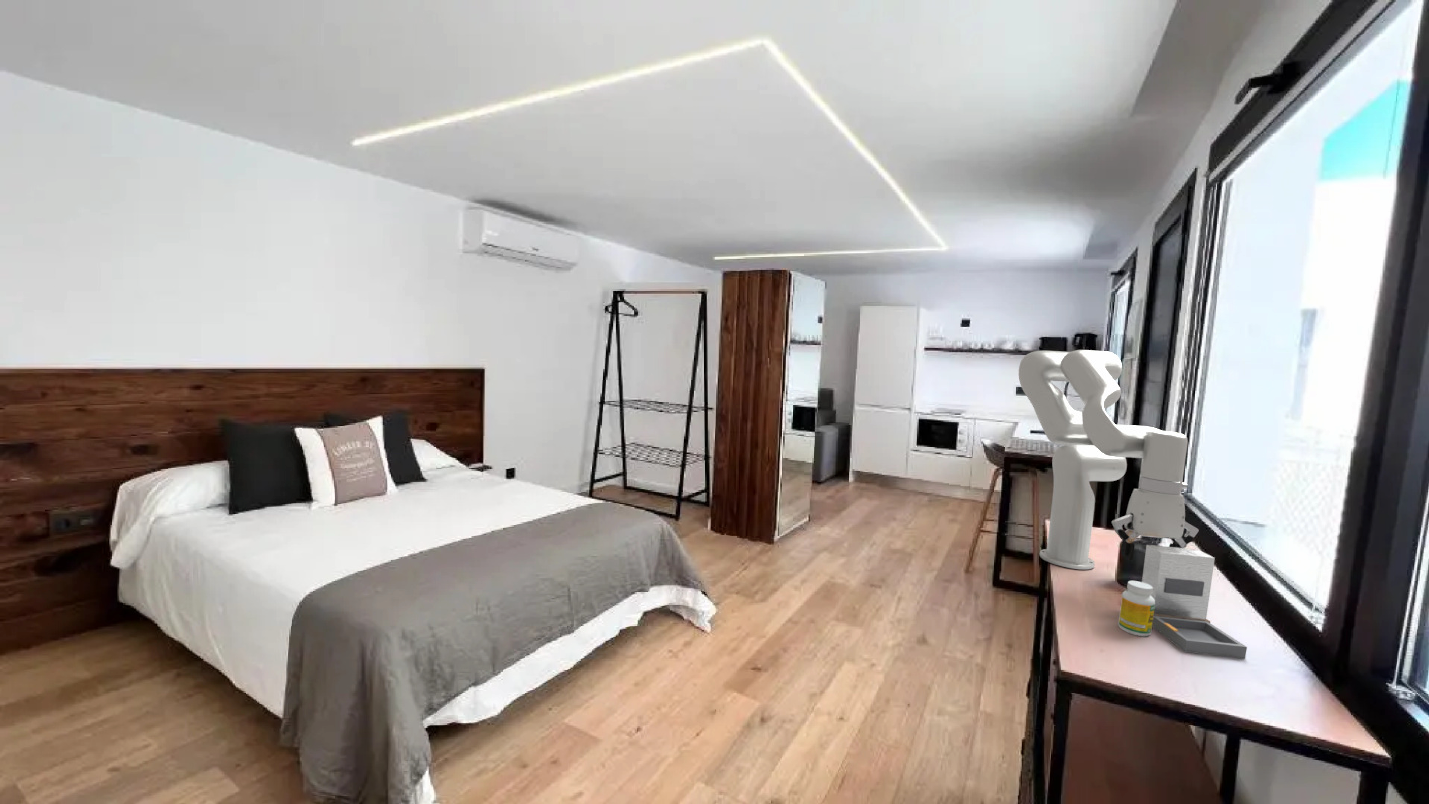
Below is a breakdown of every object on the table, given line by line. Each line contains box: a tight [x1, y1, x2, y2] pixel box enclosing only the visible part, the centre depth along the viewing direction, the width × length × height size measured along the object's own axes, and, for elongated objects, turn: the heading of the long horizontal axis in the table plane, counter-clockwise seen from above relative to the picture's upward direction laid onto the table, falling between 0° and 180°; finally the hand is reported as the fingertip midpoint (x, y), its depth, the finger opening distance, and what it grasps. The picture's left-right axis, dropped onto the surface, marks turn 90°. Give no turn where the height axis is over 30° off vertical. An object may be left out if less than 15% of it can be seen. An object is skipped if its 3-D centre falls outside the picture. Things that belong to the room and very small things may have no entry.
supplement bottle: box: [1117, 580, 1155, 637], centre depth 115 cm, size 5×5×10 cm
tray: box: [1152, 616, 1248, 659], centre depth 112 cm, size 10×10×2 cm
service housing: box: [1141, 544, 1216, 624], centre depth 121 cm, size 6×11×15 cm, turn 82°
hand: (1150, 560), depth 130 cm, fingers open, 9 cm apart
